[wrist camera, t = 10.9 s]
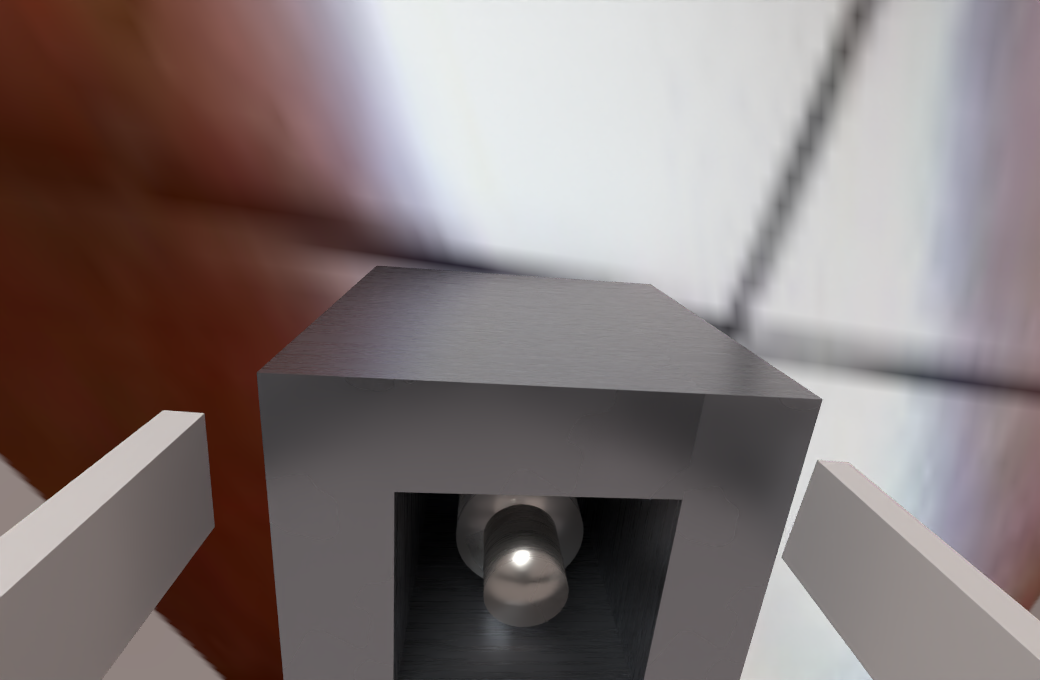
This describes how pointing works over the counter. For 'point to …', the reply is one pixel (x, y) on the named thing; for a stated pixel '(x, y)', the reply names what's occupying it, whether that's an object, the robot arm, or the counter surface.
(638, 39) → the counter surface
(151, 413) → the counter surface
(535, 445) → the block
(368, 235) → the counter surface
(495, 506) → the hub
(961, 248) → the counter surface
